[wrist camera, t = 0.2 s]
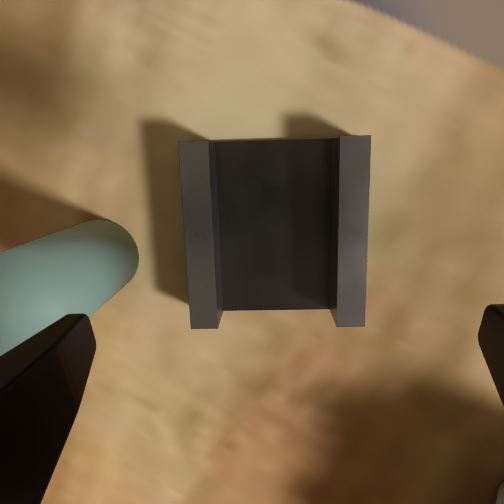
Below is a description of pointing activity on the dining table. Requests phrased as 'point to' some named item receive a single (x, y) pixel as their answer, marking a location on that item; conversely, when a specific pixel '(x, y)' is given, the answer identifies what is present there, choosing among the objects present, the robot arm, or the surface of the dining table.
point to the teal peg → (62, 277)
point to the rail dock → (276, 226)
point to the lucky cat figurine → (500, 494)
